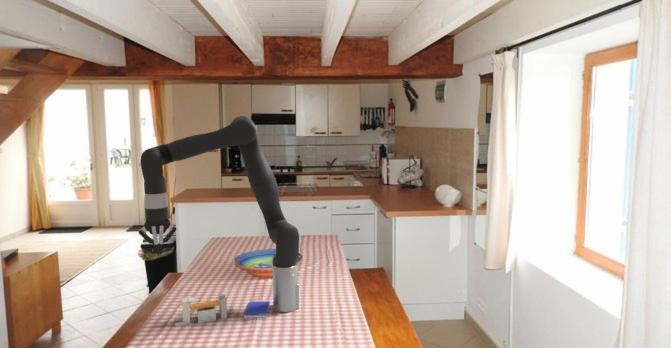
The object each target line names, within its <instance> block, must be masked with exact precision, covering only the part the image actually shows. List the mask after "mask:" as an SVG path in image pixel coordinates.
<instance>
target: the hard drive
mask: <svg viewBox="0 0 671 348" xmlns="http://www.w3.org/2000/svg"><path fill="white" fill-rule="evenodd" d="M270 304H271V302H270V301H249V302H248V304H247V307H246V309H245V312H244V315H243V318H245V319H247V318H249V319H250V318H251V319H252V318H253V319H256V318H260V319H261V318H267V317H268V316H267V315H268V312H269V309H270Z"/></svg>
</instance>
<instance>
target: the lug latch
mask: <svg viewBox="0 0 671 348" xmlns="http://www.w3.org/2000/svg"><path fill="white" fill-rule="evenodd" d="M190 304H196V298H195V296H192V297H190V296H189V297H185V298H184V297H182V298H181V309H182V316H183V320H182V322H186V321H188V322H189V324H191V316H190V315H191V314H190V311H191V310H190Z"/></svg>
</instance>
